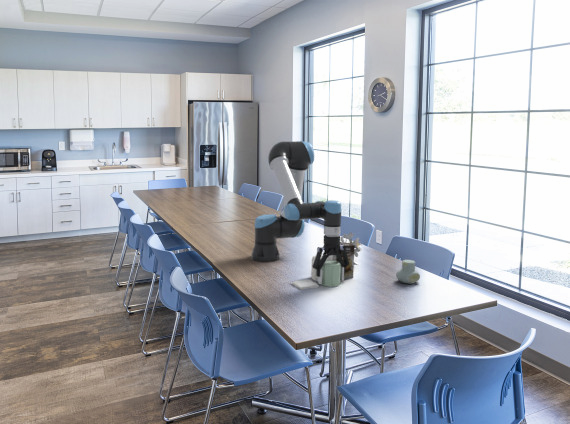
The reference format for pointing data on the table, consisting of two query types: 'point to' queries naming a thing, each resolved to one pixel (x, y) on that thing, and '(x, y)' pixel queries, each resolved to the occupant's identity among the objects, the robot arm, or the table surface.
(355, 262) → the flower vase
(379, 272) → the table surface
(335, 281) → the sage green dome
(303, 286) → the coaster
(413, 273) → the air freshener
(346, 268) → the coffee box
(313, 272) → the cream cup
